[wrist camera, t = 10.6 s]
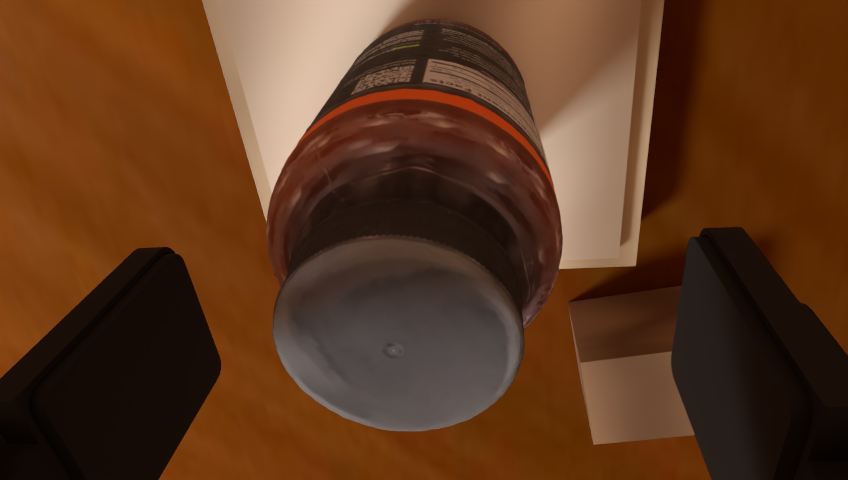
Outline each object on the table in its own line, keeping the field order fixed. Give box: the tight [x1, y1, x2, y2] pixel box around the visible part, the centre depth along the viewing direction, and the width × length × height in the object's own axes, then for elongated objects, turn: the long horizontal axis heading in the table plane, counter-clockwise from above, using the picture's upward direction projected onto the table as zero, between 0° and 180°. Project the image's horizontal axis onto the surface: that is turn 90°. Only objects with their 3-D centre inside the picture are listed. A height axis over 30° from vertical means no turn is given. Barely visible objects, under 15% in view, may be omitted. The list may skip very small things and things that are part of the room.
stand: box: [202, 0, 664, 269], centre depth 20 cm, size 14×14×3 cm
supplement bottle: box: [266, 19, 563, 431], centre depth 14 cm, size 6×6×11 cm
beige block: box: [568, 285, 695, 445], centre depth 25 cm, size 5×5×4 cm
